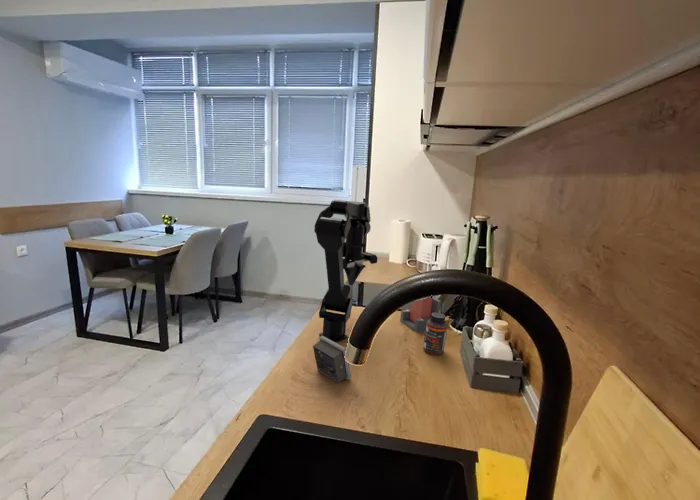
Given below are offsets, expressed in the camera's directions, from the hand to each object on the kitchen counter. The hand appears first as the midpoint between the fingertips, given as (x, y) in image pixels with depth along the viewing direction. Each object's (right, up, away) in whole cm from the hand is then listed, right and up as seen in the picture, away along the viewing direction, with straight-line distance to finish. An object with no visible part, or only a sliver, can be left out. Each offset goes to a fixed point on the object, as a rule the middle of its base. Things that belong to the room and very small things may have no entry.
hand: (350, 284), depth 129 cm
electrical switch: (-5, -20, -34) cm, 40 cm away
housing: (+23, -14, +1) cm, 27 cm away
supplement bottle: (+24, -18, -17) cm, 34 cm away
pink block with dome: (+23, -13, +1) cm, 26 cm away
